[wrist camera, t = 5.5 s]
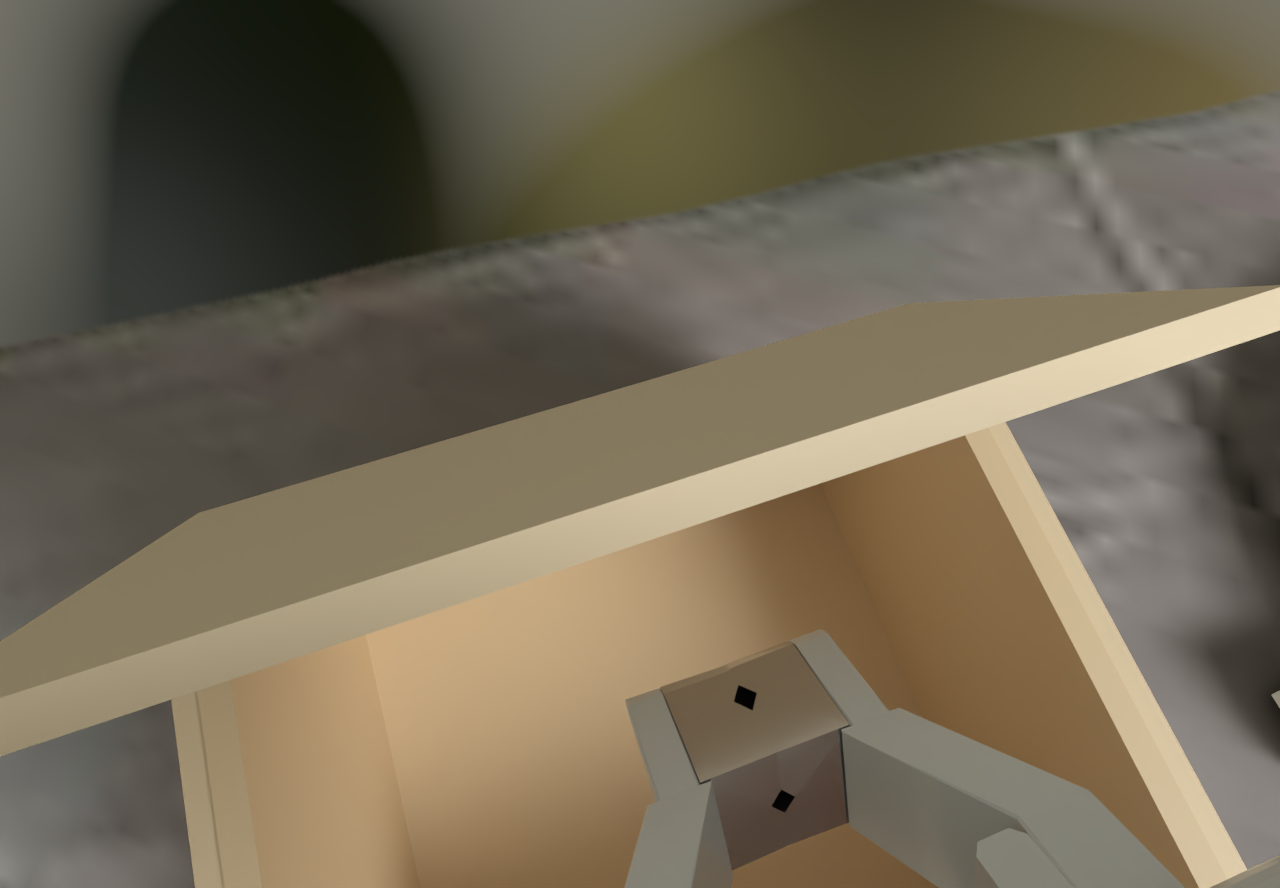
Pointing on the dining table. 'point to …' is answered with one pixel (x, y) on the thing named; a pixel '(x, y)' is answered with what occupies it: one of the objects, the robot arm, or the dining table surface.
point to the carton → (672, 651)
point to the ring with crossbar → (1276, 697)
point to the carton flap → (577, 489)
